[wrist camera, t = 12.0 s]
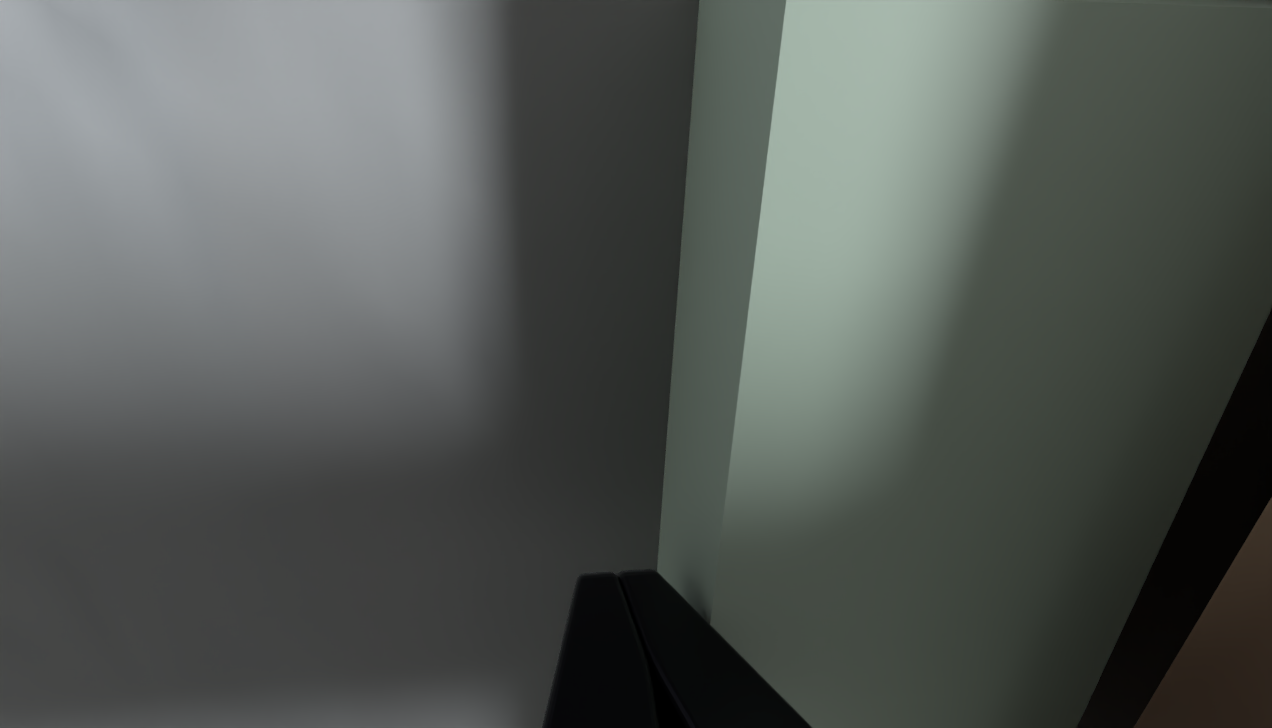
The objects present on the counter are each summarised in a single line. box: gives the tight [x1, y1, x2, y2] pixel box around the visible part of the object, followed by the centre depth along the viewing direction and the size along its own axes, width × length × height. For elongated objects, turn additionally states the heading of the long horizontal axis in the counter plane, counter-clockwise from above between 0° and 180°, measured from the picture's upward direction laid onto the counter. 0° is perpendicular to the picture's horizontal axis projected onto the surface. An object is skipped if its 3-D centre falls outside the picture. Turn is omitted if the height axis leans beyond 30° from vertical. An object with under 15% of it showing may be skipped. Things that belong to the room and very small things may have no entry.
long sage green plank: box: [657, 0, 1272, 728], centre depth 9 cm, size 12×5×3 cm, turn 177°
